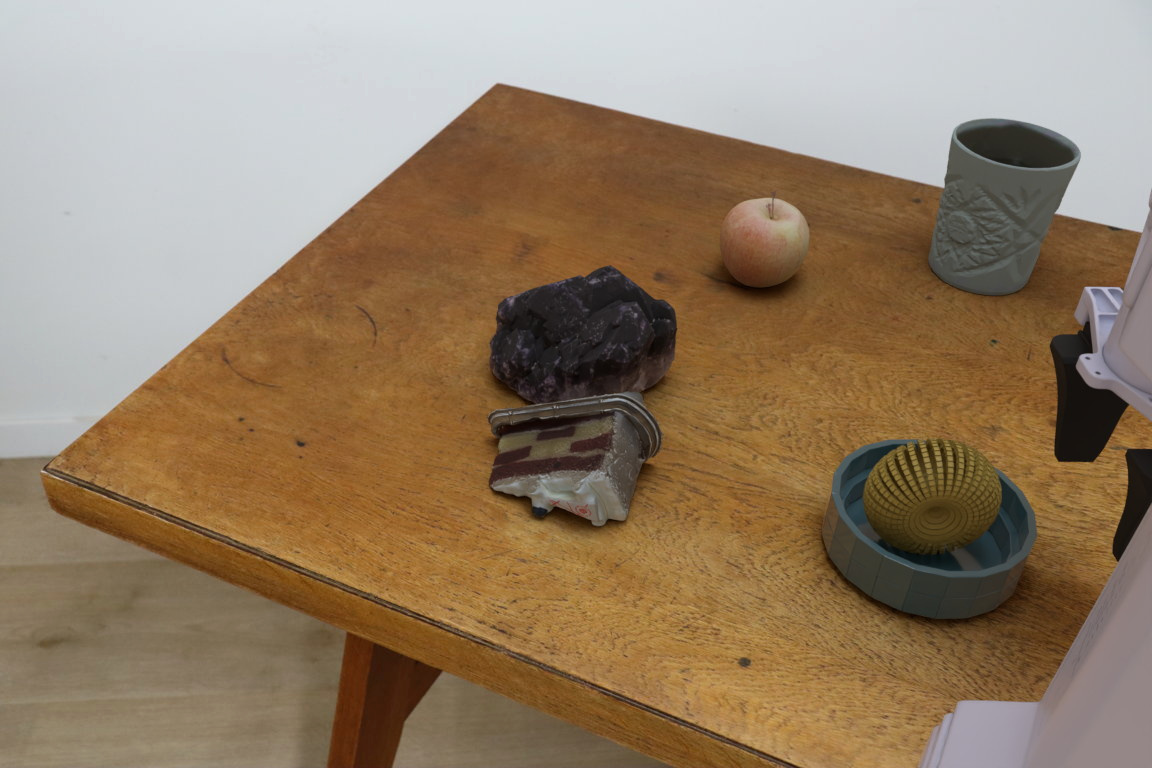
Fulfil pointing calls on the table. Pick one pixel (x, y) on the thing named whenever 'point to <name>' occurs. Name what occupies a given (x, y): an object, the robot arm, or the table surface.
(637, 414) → the chocolate cake
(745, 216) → the fruit
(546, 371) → the crystal cluster
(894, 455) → the sculpture
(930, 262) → the green vase
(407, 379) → the table surface
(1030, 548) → the bowl
